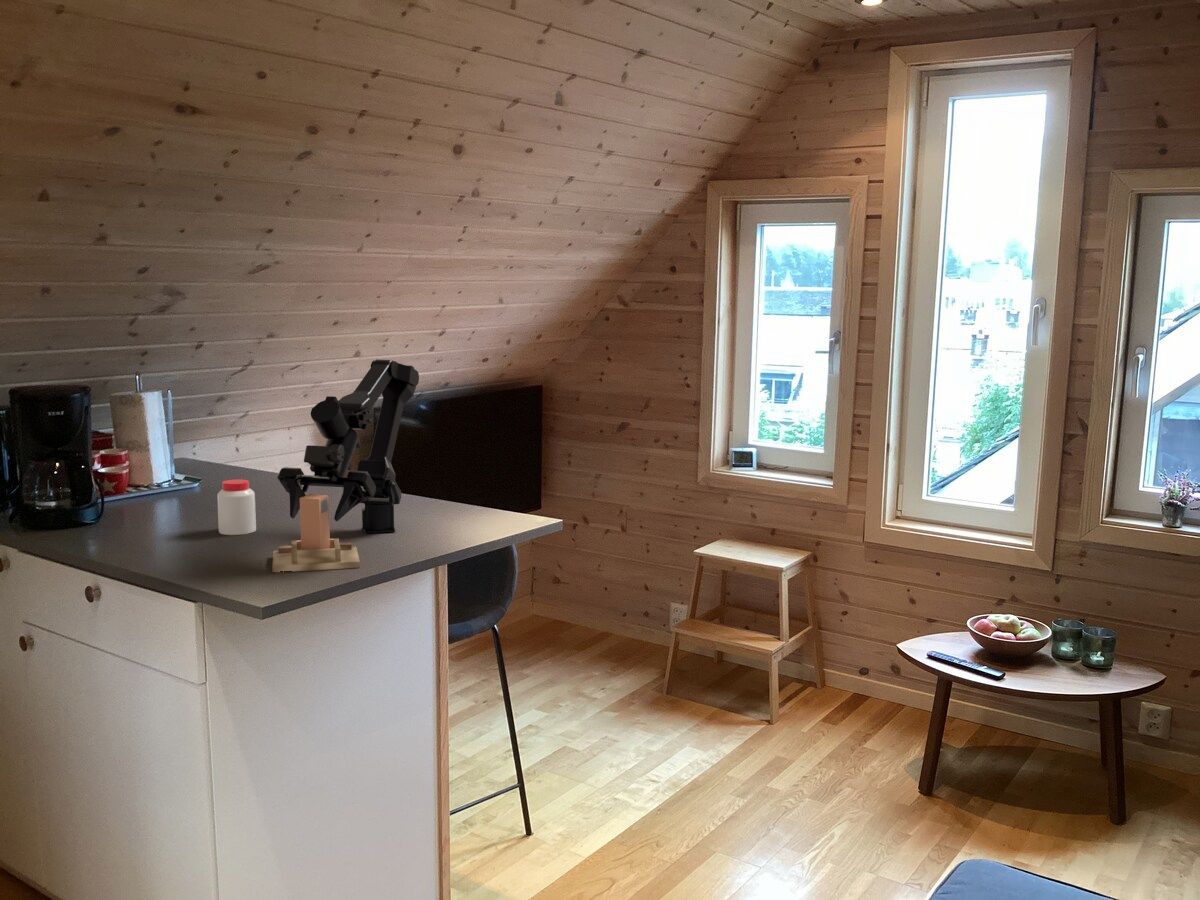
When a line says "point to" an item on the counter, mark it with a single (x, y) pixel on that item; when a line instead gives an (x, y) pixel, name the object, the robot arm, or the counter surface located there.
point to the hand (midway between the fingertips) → (313, 518)
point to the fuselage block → (314, 522)
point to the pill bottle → (236, 508)
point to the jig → (315, 557)
